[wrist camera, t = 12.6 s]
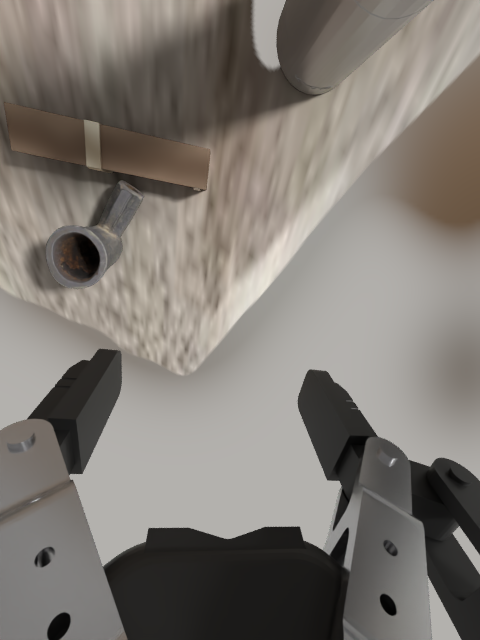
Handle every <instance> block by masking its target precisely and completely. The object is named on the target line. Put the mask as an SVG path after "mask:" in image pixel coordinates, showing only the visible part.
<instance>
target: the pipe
mask: <svg viewBox="0 0 480 640" xmlns="http://www.w3.org/2000/svg"><path fill="white" fill-rule="evenodd" d="M143 198H144V195H143V194H142V193H141V192H140V191H139V190H137V189H136V188H135V187H133V186H132V185H131V184H129V183H128V182H126V181H123V180H121V181H119V182H118V183H117V184H116V186H115V188H114V190H113V192H112V194H111V196H110V198H109V200H108V202H107V204H106V206H105V208H104V211H103V213H102V215H101V218H100V220H99V223H98V224H97V225H96V226H91V227H81V226H74V225H71V226H63V227H61V228H59V229H57V230H56V231H55V232H54V233H53V234H52V235H51V236H50V238H49V240H48V242H47V245H46V260H47V264H48V267H49V270H50V272H51V274H52V276H53V278H54V279H55V280H56V281H57V283H59V284H60V285H63V286H64V287H67V288H73V289H83V288H86V287H89V286H92V285H94V284H95V283H97V282H98V281H99V280H100V279H101V278H102V276H103V275H104V273H105V272H106V271H107V269H108V268H109V267H110V266H111V265H113V264H114V263H115V262H116V261H117V260H118V258H119V257H120V255H121V253H122V248H123V245H122V241H121V236H122V234H123V232H124V231H125V229H126V228H127V226H128V225H129V223H130V221H131V220H132V218H133V216H134V215H135V213H136V211H137V209H138V207H139V206H140V204H141V202H142V200H143Z"/></svg>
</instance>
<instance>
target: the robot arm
mask: <svg viewBox="0 0 480 640" xmlns="http://www.w3.org/2000/svg"><path fill="white" fill-rule="evenodd" d="M432 1H433V0H286V2H285V5H284V8H283V10H282V13H281V16H280V19H279V24H278V29H277V53H278V59H279V62H280V66H281V69H282V71H283V73H284V75H285V77H286V78H287V79H288V81H289V82H290V83H291V84H292V85H293V86H294V87H295V88H296V89H298V90H299V91H301V92H304V93H306V94H312V95H317V94H323V93H326V92H328V91H330V90H332V89H333V88H335V87H336V86H337V85H339V84H340V83H341V82H342V81H343V80H344V79H345V78H347V77H348V76H349V75H350V74H351V73H352V72H353V71H355V70H356V69H357V68H358V67H359V66H360V65H362V64H363V63H364V62H365V61H366V60H367V59H368V58H369V57H370V56H372V55H373V54H374V53H375V52H376V51H377V50H378V49H379V48H381V47H382V46H383V45H384V44H385V43H386V42H387V41H388V40H390V39H391V38H392V37H393V36H394V35H395V34H396V33H397V32H399V31H400V30H401V29H402V28H403V27H404V26H405V25H406V24H408V23H409V22H410V21H411V20H412V19H413V18H414V17H415V16H417V15H418V14H419V13H420V12H421V11H422V10H423V9H424V8H425V7H427V6H428V5H429V4H430V3H431V2H432ZM121 367H122V366H121V352H120V351H118V350H108V349H99V350H98V351H97V352H96V354H95V355H94V356H93V358H92V359H91V360H90V361H87V360H82V361H80V362H79V363H77V364H75V365H73V366H72V367H70V368H69V369H68V370H67V372H66V373H65V374H64V375H63V376H62V379H60V380H59V381H58V382H57V384H56V385H55V387H54V388H53V389H52V390H51V391H50V392H49V393H48V395H47V396H46V397H45V398H44V399H43V401H42V402H41V403H40V404H39V405H38V406H37V408H36V409H35V410H34V411H33V412H32V414H31V415H30V416H29V417H28V419H27V420H23V421H19V422H16V423H13V424H11V425H9V426H7V427H5V428H3V429H2V430H0V640H432V634H431V619H430V605H429V592H428V577H427V575H428V576H429V579H430V581H431V583H432V584H433V586H434V588H435V590H436V592H437V594H438V596H439V598H440V599H441V602H442V603H443V605H444V607H445V609H446V611H447V613H448V615H449V617H450V618H451V620H452V622H453V624H454V626H455V628H456V630H457V632H458V634H459V636H460V638H461V639H462V640H480V574H479V573H478V571H477V570H476V568H475V567H474V565H473V564H472V562H471V561H470V559H469V558H468V556H467V555H466V553H465V552H464V551H463V549H462V547H461V546H460V544H459V543H458V541H457V540H456V538H455V537H454V535H453V534H452V533H453V532H454V531H455V530H456V529H457V528H458V527H459V526H460V527H461V529H462V530H463V532H464V533H465V534H466V536H467V537H468V538H469V540H470V541H471V543H472V544H473V546H474V547H475V549H476V550H477V551H478V553H479V554H480V481H479V480H478V479H477V478H476V477H475V476H474V475H473V474H472V473H471V472H470V471H468V470H467V469H466V468H464V467H463V466H461V465H460V464H458V463H456V462H454V461H452V460H449V459H445V458H438V459H436V460H435V461H434V462H433V464H432V465H431V467H429V466H426V465H423V464H420V463H417V462H413V461H410V460H408V458H407V456H406V455H405V454H404V452H403V451H402V450H401V449H400V448H399V447H397V446H396V445H395V444H393V443H392V442H390V441H388V440H386V439H383V438H380V437H378V436H377V435H376V433H375V432H374V430H373V429H372V427H371V426H370V425H369V423H368V422H367V420H366V419H365V417H364V416H363V414H362V413H361V411H360V410H358V407H357V406H356V404H355V403H354V402H353V400H352V398H351V397H350V396H349V394H348V393H347V391H346V390H344V389H343V388H342V387H341V386H339V384H337V383H334V381H333V380H332V378H331V377H330V375H329V373H328V372H327V371H321V370H320V371H319V370H309V371H308V372H307V374H306V377H305V379H304V382H303V385H302V388H301V391H300V393H299V396H298V408H299V412H300V414H301V416H302V419H303V421H304V424H305V426H306V428H307V431H308V434H309V436H310V438H311V441H312V444H313V446H314V449H315V451H316V453H317V456H318V458H319V461H320V463H321V466H322V468H323V471H324V473H325V476H326V478H327V480H332V481H340V483H341V485H342V487H341V489H340V490H339V493H338V497H337V501H336V505H335V509H334V514H333V517H332V521H331V525H330V529H329V534H328V537H327V540H326V543H325V546H324V548H323V550H321V549H320V548H318V547H317V546H314V545H313V544H310V543H308V542H306V541H303V537H302V534H301V530H300V527H264V528H261V529H258V530H255V531H253V532H250V533H247V534H244V535H241V536H238V537H236V538H232V539H224V538H220V537H217V536H214V535H211V534H207V533H204V532H201V531H197V530H194V529H191V528H149V529H148V534H147V539H146V542H144V543H142V544H139V545H136V546H134V547H132V548H130V549H128V550H126V551H124V552H122V553H121V554H119V555H118V556H116V557H115V558H114V559H112V560H111V561H110V562H108V563H107V564H106V565H104V567H103V566H102V563H101V560H100V557H99V554H98V551H97V549H96V545H95V542H94V539H93V536H92V533H91V531H90V528H89V525H88V522H87V519H86V516H85V513H84V510H83V507H82V504H81V501H80V498H79V495H78V492H77V489H76V486H75V484H74V482H73V480H70V477H69V475H70V474H83V471H84V469H85V467H86V465H87V463H88V461H89V459H90V457H91V454H92V452H93V450H94V448H95V446H96V444H97V442H98V439H99V437H100V435H101V433H102V431H103V429H104V427H105V425H106V422H107V420H108V418H109V416H110V414H111V412H112V409H113V407H114V405H115V403H116V401H117V399H118V397H119V394H120V390H121V384H122V371H121V369H122V368H121Z"/></svg>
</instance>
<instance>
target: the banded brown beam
mask: <svg viewBox="0 0 480 640" xmlns="http://www.w3.org/2000/svg"><path fill="white" fill-rule="evenodd" d="M4 107H5V113H6V119H7V126H8V132H9V138H10V145H11V150H13V151H17V152H22V153H26V154H30V155H35V156H40V157H45V158H50V159H55V160H60V161H65V162H69V163H74V164H79V165H84V166H88V168H89V169H93V170H98V171H102V172H107V173H112V174H113V171H114V172H119V173H124V174H128V175H133V176H138V177H143V178H148V179H153V180H158V181H163V182H168V183H173V184H178V185H183V186H187V187H192V188H194V190H196V191H201V189H202V190H206V188H207V179H208V170H209V161H210V149H206V148H202V147H198V146H193V145H189V144H185V143H180V142H176V141H171V140H167V139H163V138H158V137H154V136H150V135H145V134H141V133H137V132H132V131H128V130H124V129H119V128H115V127H111V126H106V125H102V124H100V123H98V122H93V121H89V120H80V119H76V118H71V117H67V116H63V115H58V114H54V113H50V112H45V111H41V110H37V109H32V108H28V107H24V106H19V105H15V104H11V103H6V102H4Z"/></svg>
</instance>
